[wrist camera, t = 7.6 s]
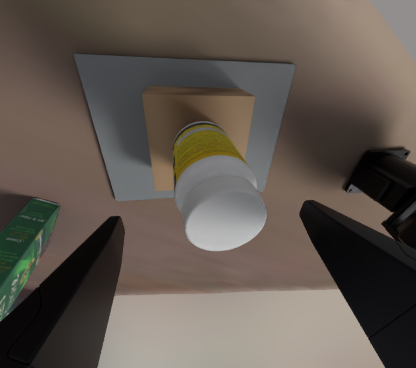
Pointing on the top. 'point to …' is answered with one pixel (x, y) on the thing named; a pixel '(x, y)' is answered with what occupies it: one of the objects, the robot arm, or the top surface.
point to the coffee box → (23, 247)
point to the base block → (191, 120)
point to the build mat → (177, 77)
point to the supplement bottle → (215, 189)
